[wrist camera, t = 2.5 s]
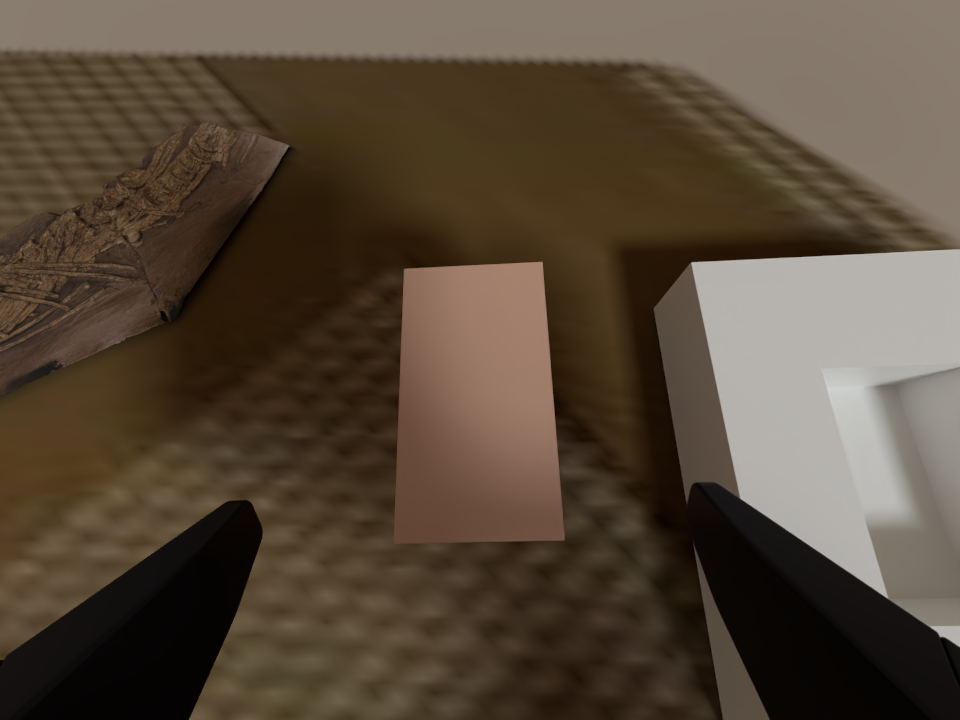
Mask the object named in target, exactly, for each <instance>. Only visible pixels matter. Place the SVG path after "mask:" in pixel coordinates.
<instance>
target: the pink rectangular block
mask: <svg viewBox="0 0 960 720" xmlns="http://www.w3.org/2000/svg"><path fill="white" fill-rule="evenodd" d="M558 540H565V536H564V524H563V512H562V499H561V487H560V474H559V462H558V449H557V437H556V425H555V412H554V400H553V387H552V375H551V362H550V350H549V338H548V325H547V313H546V300H545V288H544V275H543V263H542V262H530V263H510V264H490V265H470V266H450V267H429V268H409V269H404V283H403V309H402V335H401V362H400V388H399V415H398V441H397V467H396V494H395V520H394V544H405V543H456V542H507V541H558Z"/></svg>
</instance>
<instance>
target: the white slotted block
mask: <svg viewBox="0 0 960 720" xmlns="http://www.w3.org/2000/svg"><path fill="white" fill-rule="evenodd" d="M654 314H655V320H656V326H657V332H658V338H659V344H660V349H661V355H662V361H663V367H664V373H665V379H666V385H667V391H668V397H669V403H670V409H671V415H672V420H673V426H674V432H675V438H676V444H677V450H678V456H679V462H680V468H681V474H682V480H683V485H684V491H685V497H686V503H687V502H688V497H689V493H690V488H691V486H692V484H693V483H695V482H716V483H718V484H720V485H721V486H723V487H724V488H726V489H727V490H728V491H730V492H731V493H733V494H734V495H736V496H737V497H739V498H740V499H742V500H743V501H745V502H746V503H748V504H749V505H751V506H752V507H754V508H755V509H757V510H758V511H759V512H761V513H762V514H764V515H765V516H767V517H768V518H770V519H771V520H773V521H774V522H776V523H777V524H779V525H780V526H782V527H783V528H785V529H786V530H788V531H789V532H790V533H792V534H793V535H795V536H796V537H798V538H799V539H801V540H802V541H804V542H805V543H807V544H808V545H810V546H811V547H813V548H814V549H816V550H817V551H818V552H820V553H821V554H823V555H824V556H826V557H827V558H829V559H830V560H832V561H833V562H835V563H836V564H838V565H839V566H841V567H842V568H844V569H845V570H847V571H848V572H849V573H851V574H852V575H854V576H855V577H857V578H858V579H860V580H861V581H863V582H864V583H866V584H867V585H869V586H870V587H872V588H873V589H875V590H876V591H878V592H879V593H880V594H882V595H883V596H885V597H886V598H888V599H889V600H891V601H892V602H894V603H895V604H897V605H898V606H900V607H901V608H903V609H904V610H906V611H907V612H909V613H910V614H911V615H913V616H914V617H916V618H917V619H919V620H920V621H922V622H923V623H925V624H926V625H928V626H929V627H931V628H932V629H934V630H935V631H936V632H938V634H939V636H940V637H945V638H947V639H949V640H950V641H952V642H953V643H955V644H956V645H958V646H959V647H960V249H958V250H937V251H916V252H896V253H875V254H854V255H834V256H813V257H793V258H772V259H751V260H731V261H710V262H691V263H690V264H689V266H688V267H687V268H686V269H685V271H684V272H683V273H682V274H681V275H680V277H679V278H678V279H677V280H676V282H675V283H674V284H673V285H672V286H671V288H670V289H669V290H668V291H667V293H666V294H665V295H664V296H663V298H662V299H661V300H660V301H659V302H658V304H657V305H656V306H655V307H654ZM693 545H694V543H693ZM694 551H695V556H696V562H697V568H698V574H699V580H700V586H701V592H702V598H703V604H704V610H705V616H706V622H707V627H708V633H709V639H710V645H711V651H712V657H713V663H714V669H715V675H716V681H717V687H718V693H719V698H720V704H721V710H722V716H723V720H770V719H769V717H768V715H767V713H766V711H765V709H764V706H763V704H762V702H761V700H760V698H759V696H758V694H757V692H756V689H755V687H754V685H753V683H752V681H751V679H750V677H749V675H748V672H747V670H746V668H745V666H744V664H743V662H742V660H741V658H740V655H739V653H738V651H737V649H736V647H735V645H734V643H733V641H732V639H731V636H730V634H729V632H728V630H727V628H726V626H725V624H724V622H723V619H722V617H721V615H720V613H719V611H718V608H717V606H716V604H715V602H714V599H713V596H712V594H711V591H710V589H709V586H708V583H707V580H706V577H705V574H704V572H703V569H702V566H701V563H700V560H699V557H698V555H697V552H696V549H695V546H694Z"/></svg>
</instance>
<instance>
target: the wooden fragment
mask: <svg viewBox="0 0 960 720" xmlns="http://www.w3.org/2000/svg"><path fill="white" fill-rule="evenodd" d="M288 147H289V148H293V147H291V146H289V145H287V144H284V143H282V142H278V141H275V140H272V139H270V138H267V137H264V136H261V135H258V134H255V133H252V132H245V131H240V130H229V129H228V128H226V127H221V126H220V125H217V124H216V123H214V122H204V123H201V125H200V126H195V125H185V124H183V126H182V128H181V130H180V132H179V133H177V134H175V135H173V136H172V137H170V138H169V139H168V140H166V141H164V142H163V143H161V144H160V145H158V146H156V147H155V148H153V149H152V150H151V151H150V152H149V153H148V154H147V155H146V156H145V157H144V158H143V160H142V161H143V167H141V168H136V169H133V170H132V171H125V172H123V173H121V174H119V175H117V176H116V180H114V181H112V182H108V183H106V184H105V185H104V186H103V188H104V192H103V198H94V200H93V202H92V203H85V204H83V205H78V206H77V207H74V208H71V209H68V210H66V211H65V212H64V214H63V215H62V216H57V215H52V214H48V213H41V214H39V215H36V216H34V217H32V218H30V219H29V220H26V221H25V222H23V223H21V224H20V225H18V226H16V227H15V228H13V229H11V230H8V231H6V234H5V236H3V237H2V238H1V239H0V397H2V396H4V395H5V394H7V393H9V392H12V391H14V390H16V389H17V388H20V387H22V386H23V385H25V384H26V383H29V382H31V381H34V380H36V379H39V378H41V377H42V376H45V375H48V374H49V373H51V372H52V371H55V370H58V369H61V368H64V367H66V366H67V365H70V364H72V363H74V362H77V361H79V360H81V359H83V358H87V357H89V356H91V355H93V354H95V353H97V352H99V351H102V350H104V349H106V348H108V347H109V346H111V345H113V344H117V343H120V342H121V340H123V341H124V340H125V338H126V337H127V338H128V337H131V336H135V335H137V334H139V333H142V332H144V331H146V330H148V329H150V328H152V327H155V326H159V325H162V324H165V323H168V322H172V321H173V320H175V319H176V318H177V316H178V314H179V311H180V310H181V309H182V304H183V299H184V298H185V297H186V296H187V295H188V294H189V292H190V291H191V289H192V288H193V286H194V285H195V283H196V282H197V281H198V279H199V277H200V276H201V275H202V273H203V271H204V270H205V269H206V268H207V266H208V265H209V264H210V262H211V261H212V259H213V258H214V257H215V255H216V253H217V251H218V250H219V249H220V248H221V246H222V245H223V243H224V242H225V241H226V239H227V238H228V237H229V235H230V234H231V232H232V231H233V229H234V228H235V226H237V224H238V223H239V221H240V220H241V218H242V217H243V215H244V214H245V213H246V211H247V210H248V208H249V206H250V205H251V204H252V202H253V201H254V200H255V199H256V197H257V195H258V194H259V192H261V191H262V189H263V188H264V184H266V183H267V181H268V180H269V179H270V177H271V176H272V174H273V172H274V170H275V168H276V167H277V165H278V164H279V162H280V160H281V158H282V157H283V155H284V153H285V152H286V150H287V149H288ZM293 149H295V148H293ZM159 311H164V312H165V313H166V316H167V317H165V318H168V322H165V321H163V320H162V317H161V313H160V312H159Z"/></svg>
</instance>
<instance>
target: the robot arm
mask: <svg viewBox="0 0 960 720" xmlns="http://www.w3.org/2000/svg"><path fill="white" fill-rule="evenodd" d="M685 519H686V523H687V526H688V529H689V532H690V535H691V538H692V541H693V543H694V546H695V549H696V552H697V555H698V557H699V560H700V563H701V566H702V569H703V572H704V574H705V577H706V580H707V583H708V586H709V589H710V591H711V594H712V596H713V599H714V602H715V604H716V606H717V608H718V611H719V613H720V615H721V617H722V619H723V622H724V624H725V626H726V628H727V630H728V632H729V634H730V636H731V639H732V641H733V643H734V645H735V647H736V649H737V651H738V653H739V655H740V658H741V660H742V662H743V664H744V666H745V668H746V670H747V672H748V675H749V677H750V679H751V681H752V683H753V685H754V687H755V689H756V692H757V694H758V696H759V698H760V700H761V702H762V704H763V706H764V709H765V711H766V713H767V715H768V717H769V719H770V720H960V647H959V646H958V645H956V644H955V643H953V642H952V641H950V640H949V639H947V638H945V637H940V636H939V634H938V632H936V631H935V630H934V629H932V628H931V627H929V626H928V625H926V624H925V623H923V622H922V621H920V620H919V619H917V618H916V617H914V616H913V615H911V614H910V613H909V612H907V611H906V610H904V609H903V608H901V607H900V606H898V605H897V604H895V603H894V602H892V601H891V600H889V599H888V598H886V597H885V596H883V595H882V594H880V593H879V592H878V591H876V590H875V589H873V588H872V587H870V586H869V585H867V584H866V583H864V582H863V581H861V580H860V579H858V578H857V577H855V576H854V575H852V574H851V573H849V572H848V571H847V570H845V569H844V568H842V567H841V566H839V565H838V564H836V563H835V562H833V561H832V560H830V559H829V558H827V557H826V556H824V555H823V554H821V553H820V552H818V551H817V550H816V549H814V548H813V547H811V546H810V545H808V544H807V543H805V542H804V541H802V540H801V539H799V538H798V537H796V536H795V535H793V534H792V533H790V532H789V531H788V530H786V529H785V528H783V527H782V526H780V525H779V524H777V523H776V522H774V521H773V520H771V519H770V518H768V517H767V516H765V515H764V514H762V513H761V512H759V511H758V510H757V509H755V508H754V507H752V506H751V505H749V504H748V503H746V502H745V501H743V500H742V499H740V498H739V497H737V496H736V495H734V494H733V493H731V492H730V491H728V490H727V489H726V488H724V487H723V486H721V485H720V484H718V483H716V482H695V483H693V484H692V486H691V488H690V493H689V497H688V502H687V506H686V511H685ZM262 534H263V531H262V526H261V523H260V521H259V519H258V516H257V514H256V512H255V510H254V507H253V505H252V503H251V502H249V501H247V500H236V501H228V502H226V503H224V504H223V505H221V506H220V507H218V508H217V509H216V510H214V511H213V512H211V513H210V514H208V515H207V516H206V517H204V518H203V519H201V520H200V521H198V522H197V523H196V524H194V525H193V526H191V527H190V528H188V529H187V530H186V531H184V532H183V533H181V534H180V535H178V536H177V537H176V538H174V539H173V540H171V541H170V542H168V543H167V544H166V545H164V546H163V547H161V548H160V549H158V550H157V551H155V552H154V553H153V554H151V555H150V556H148V557H147V558H145V559H144V560H143V561H141V562H140V563H138V564H137V565H135V566H134V567H133V568H131V569H130V570H128V571H127V572H125V573H124V574H123V575H121V576H120V577H118V578H117V579H115V580H114V581H113V582H111V583H110V584H108V585H107V586H105V587H104V588H103V589H101V590H100V591H98V592H97V593H95V594H94V595H93V596H91V597H90V598H88V599H87V600H85V601H84V602H83V603H81V604H80V605H78V606H77V607H75V608H74V609H73V610H71V611H70V612H68V613H67V614H65V615H64V616H63V617H61V618H60V619H58V620H57V621H55V622H54V623H52V624H51V625H50V626H48V627H47V628H45V629H44V630H42V631H41V632H40V633H38V634H37V635H35V636H34V637H32V638H31V639H30V640H28V641H27V642H25V643H24V644H22V645H21V646H20V647H18V648H17V649H15V650H14V651H12V652H11V653H10V654H8V655H7V656H6V657H5V659H4V660H0V720H189V718H190V716H191V714H192V712H193V709H194V707H195V705H196V703H197V700H198V698H199V696H200V694H201V692H202V689H203V687H204V685H205V683H206V680H207V678H208V676H209V674H210V671H211V669H212V667H213V665H214V663H215V660H216V658H217V656H218V654H219V651H220V649H221V647H222V645H223V642H224V640H225V638H226V636H227V634H228V631H229V629H230V627H231V624H232V622H233V620H234V617H235V615H236V612H237V610H238V607H239V604H240V601H241V599H242V596H243V593H244V590H245V587H246V584H247V581H248V578H249V575H250V572H251V569H252V566H253V563H254V560H255V558H256V555H257V552H258V549H259V546H260V543H261V540H262Z"/></svg>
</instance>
